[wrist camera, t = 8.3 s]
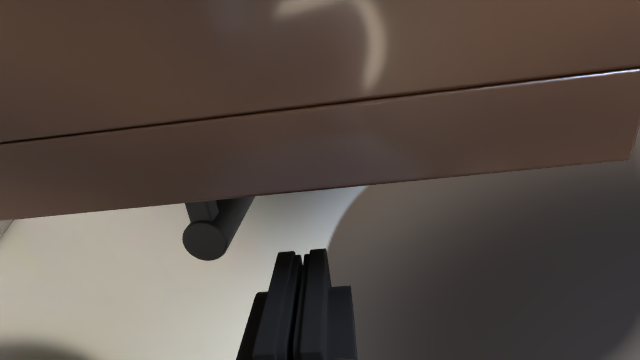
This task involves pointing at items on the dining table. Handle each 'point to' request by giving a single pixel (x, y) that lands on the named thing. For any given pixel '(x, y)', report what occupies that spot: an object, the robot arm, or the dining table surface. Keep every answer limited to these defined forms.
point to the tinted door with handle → (213, 226)
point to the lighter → (4, 226)
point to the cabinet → (302, 95)
